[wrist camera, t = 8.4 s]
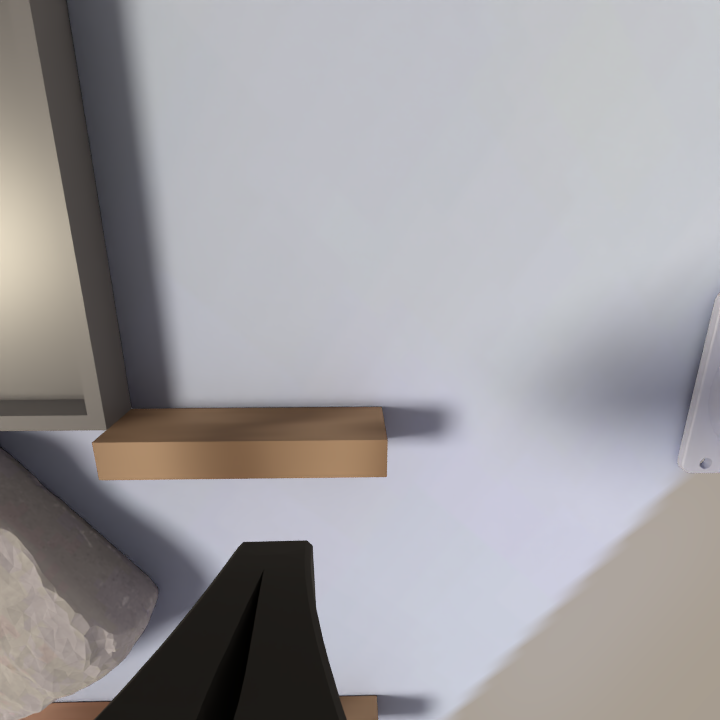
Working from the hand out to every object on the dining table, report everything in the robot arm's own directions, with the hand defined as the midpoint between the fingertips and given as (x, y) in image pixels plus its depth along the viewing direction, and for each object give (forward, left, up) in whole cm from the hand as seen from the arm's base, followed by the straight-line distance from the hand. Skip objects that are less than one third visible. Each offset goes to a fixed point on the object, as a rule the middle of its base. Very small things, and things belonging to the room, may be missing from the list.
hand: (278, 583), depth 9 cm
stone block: (+15, +9, -11) cm, 20 cm away
